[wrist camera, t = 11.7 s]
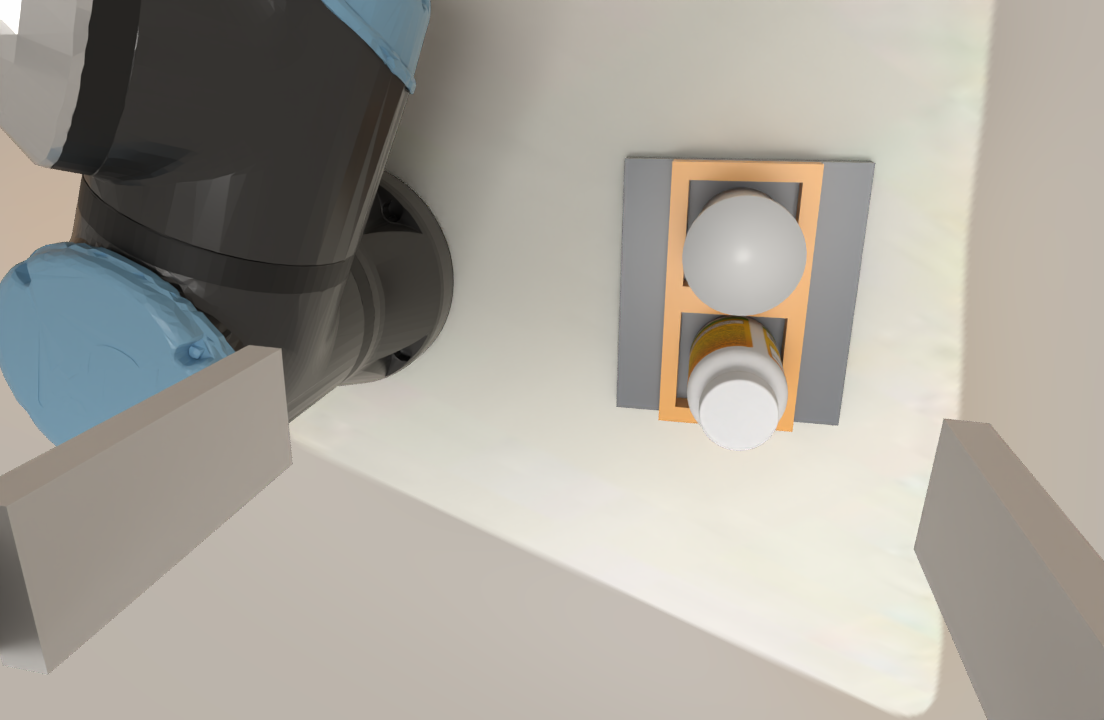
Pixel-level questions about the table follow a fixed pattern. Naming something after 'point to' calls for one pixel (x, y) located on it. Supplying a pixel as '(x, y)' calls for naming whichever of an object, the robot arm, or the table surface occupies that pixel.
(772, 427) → the supplement bottle
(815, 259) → the orange bottle caddy
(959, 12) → the table surface
